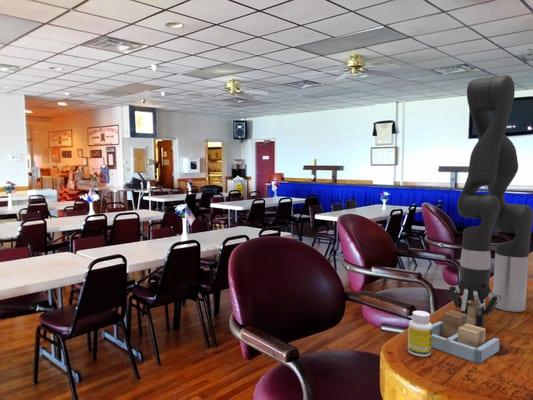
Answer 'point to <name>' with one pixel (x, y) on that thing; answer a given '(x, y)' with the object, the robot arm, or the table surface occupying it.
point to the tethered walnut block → (458, 320)
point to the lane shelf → (462, 346)
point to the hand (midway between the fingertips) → (472, 325)
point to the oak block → (471, 335)
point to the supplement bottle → (420, 334)
